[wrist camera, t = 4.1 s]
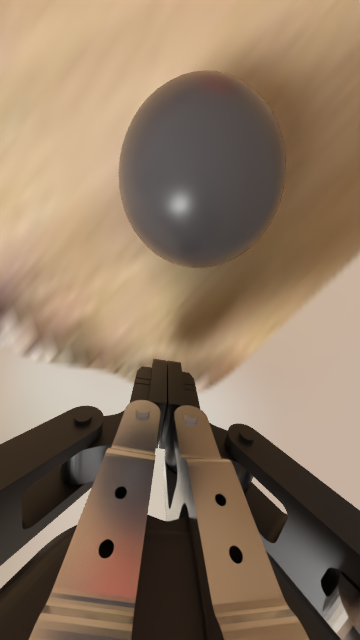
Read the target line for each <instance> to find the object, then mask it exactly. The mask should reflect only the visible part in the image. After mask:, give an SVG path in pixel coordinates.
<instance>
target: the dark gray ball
mask: <svg viewBox="0 0 360 640" xmlns="http://www.w3.org/2000/svg"><path fill="white" fill-rule="evenodd" d="M285 171H286V157H285V147H284V142H283V136H282V133H281V130H280V127H279V124H278V122H277V120H276V118H275V116H274V113H273V112H272V110H271V109H270V107H269V106H268V104H267V103H266V101H265V100H264V99H263V98H262V97H261V95H260V94H259V93H258V92H257V91H255V90H254V89H253V88H252V87H251V86H250V85H248V84H247V83H245V82H244V81H242V80H240V79H238V78H236V77H234V76H231V75H229V74H225V73H221V72H217V71H197V72H191V73H188V74H184V75H181V76H179V77H177V78H175V79H172V80H170V81H169V82H167V83H166V84H164V85H163V86H161V87H160V88H158V89H157V90H156V91H155V92H154V93H153V94H151V95H150V96H149V97H148V98H147V100H146V101H145V102H144V103H143V104H142V106H141V107H140V108H139V110H138V111H137V113H136V115H135V116H134V118H133V120H132V122H131V124H130V126H129V128H128V131H127V133H126V135H125V139H124V142H123V145H122V150H121V155H120V163H119V186H120V193H121V199H122V203H123V206H124V210H125V212H126V215H127V217H128V219H129V222H130V224H131V225H132V227H133V229H134V231H135V232H136V233H137V235H138V236H139V237H140V239H141V240H142V241H143V242H144V243H145V244H146V245H147V247H148V248H149V249H151V250H152V251H153V252H154V253H156V254H157V255H159V256H160V257H162V258H163V259H165V260H167V261H169V262H172V263H174V264H178V265H181V266H186V267H192V268H204V267H212V266H216V265H220V264H223V263H225V262H228V261H230V260H232V259H234V258H235V257H237V256H239V255H240V254H242V253H243V252H245V251H246V250H247V249H249V248H250V247H251V246H252V245H253V244H254V243H255V242H256V241H257V240H258V239H259V238H260V236H261V235H262V234H263V233H264V231H265V230H266V228H267V227H268V225H269V224H270V222H271V220H272V218H273V216H274V214H275V212H276V210H277V208H278V205H279V202H280V200H281V196H282V192H283V188H284V181H285Z"/></svg>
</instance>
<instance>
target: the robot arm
mask: <svg viewBox="0 0 360 640" xmlns="http://www.w3.org/2000/svg"><path fill="white" fill-rule="evenodd" d="M158 444H159V448H161V449H165V459H164V463H163V478H164V494H165V510H166V521H163V520H160V519H157V518H155V517H152V516H149V515H147V513H148V505H149V499H150V492H151V484H152V477H153V469H154V463H155V449H156V448H158ZM253 477H255V478H256V479H257V480H258V481H259V482H260V483H261V484H262V485H263V486H264V487H265V488H266V489H268V490H269V492H271V493H272V494H273V495H274V496H275V497H276V498H277V499H278V500H279V501H280V502H281V503H282V504H283V505H284V507H285V509H286V511H287V514H288V515H287V514H285V513H283V512H282V511H281V510H280V509H279V508H278V507H277V506H275V504H274V503H273V502H272V501H270V500H269V499H268V498H267V497H266V496H265V495H264V494H263V493H262V492H261V491H260V490H259V489H258V488H257V487H256V486H255V485H254V484H253V483H252V482H251V481H252V478H253ZM91 487H92V489H91V491H90V494H89V496H88V499H87V502H86V504H85V507H84V509H83V512H82V514H81V517H80V520H79V522H78V525H76V526H74V527H72V528H70V529H68V530H66V531H65V532H63V533H61V534H60V535H58V536H57V537H56V538H54V539H53V540H52V541H51V542H49V543H48V544H47V545H45V547H44V548H42V549H41V550H40V551H39V552H38V553H37V554H36V555H35V556H34V557H33V558H32V559H31V560H30V561H29V562H28V563H27V564H26V565H24V567H22V568H21V569H20V570H19V571H18V572H17V573H16V574H15V575H14V576H13V577H12V578H11V579H10V580H9V581H8V582H7V583H6V584H5V585H4V586H3V587H2V588H1V589H0V640H360V511H359V510H358V509H357V508H355V507H354V506H353V505H352V504H350V503H349V502H348V501H346V500H345V499H344V498H342V497H341V496H340V495H339V494H337V493H336V492H335V491H333V490H332V489H331V488H330V487H328V486H327V485H326V484H324V483H323V482H322V481H320V480H319V479H318V478H317V477H315V476H314V475H313V474H311V473H310V472H309V471H308V470H306V469H305V468H304V467H302V466H301V465H300V464H298V463H297V462H296V461H294V460H293V459H292V458H291V457H289V456H288V455H287V454H285V453H284V452H283V451H282V450H280V449H279V448H278V447H276V446H275V445H274V444H273V443H271V442H270V441H269V440H267V439H266V438H265V437H263V436H262V435H261V434H260V433H258V432H257V431H255V430H254V429H253V428H251V427H249V426H247V425H244V424H233V425H231V426H230V427H229V430H228V431H227V430H224V429H222V428H219V427H216V426H214V425H212V424H211V423H209V421H208V418H207V416H206V414H205V413H204V412H203V411H202V410H200V406H199V401H198V396H197V392H196V387H195V382H194V378H193V377H192V376H191V375H190V373H187V372H182V369H181V363H180V362H173V361H166V360H159V359H153V364H152V368H150V367H141V368H140V369H139V370H138V371H137V374H136V378H135V383H134V387H133V391H132V396H131V400H130V404H128V406H127V407H126V409H125V410H124V411H123V412H121V413H119V414H115V415H110V416H103V413H102V412H101V411H100V410H99V409H97V408H95V407H92V406H80V407H76V408H73V409H71V410H69V411H67V412H65V413H63V414H61V415H59V416H57V417H55V418H53V419H51V420H49V421H47V422H45V423H43V424H41V425H39V426H37V427H35V428H33V429H31V430H29V431H27V432H25V433H23V434H21V435H19V436H16V437H14V438H13V439H10V440H8V441H6V442H4V443H2V444H0V566H1V565H2V564H3V563H4V562H5V561H6V560H7V559H9V558H10V557H11V556H12V555H14V553H16V552H17V551H18V550H19V549H21V548H22V547H23V546H24V545H25V544H26V543H27V542H28V541H30V540H31V539H32V538H33V537H34V536H36V535H37V534H38V533H39V532H40V531H41V530H43V529H44V528H45V527H46V526H47V525H48V524H49V523H51V522H52V521H53V520H54V519H55V518H56V517H58V516H59V515H60V514H61V513H62V512H64V511H65V510H66V509H67V508H68V507H69V506H71V505H72V504H73V503H74V502H75V501H76V500H77V499H79V498H80V497H81V496H82V495H83V494H84V493H86V492H87V491H88V490H89V489H90V488H91Z"/></svg>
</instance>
